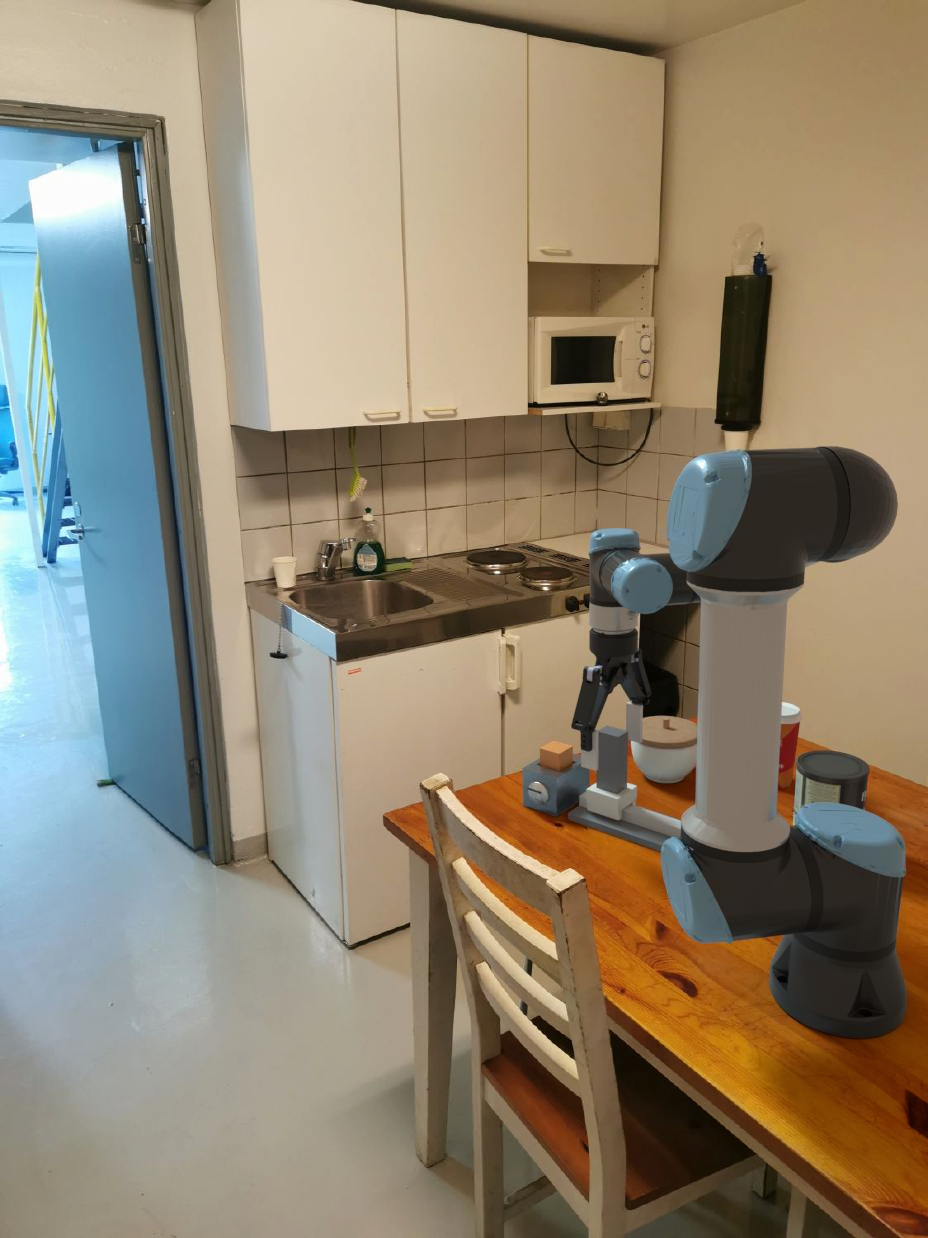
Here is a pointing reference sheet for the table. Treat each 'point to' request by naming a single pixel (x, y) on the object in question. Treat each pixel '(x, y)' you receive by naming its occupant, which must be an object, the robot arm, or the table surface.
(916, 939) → the table surface
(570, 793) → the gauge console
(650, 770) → the lidded bowl
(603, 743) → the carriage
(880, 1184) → the table surface
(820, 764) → the coffee can
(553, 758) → the button
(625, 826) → the rail bed
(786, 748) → the paper cup
